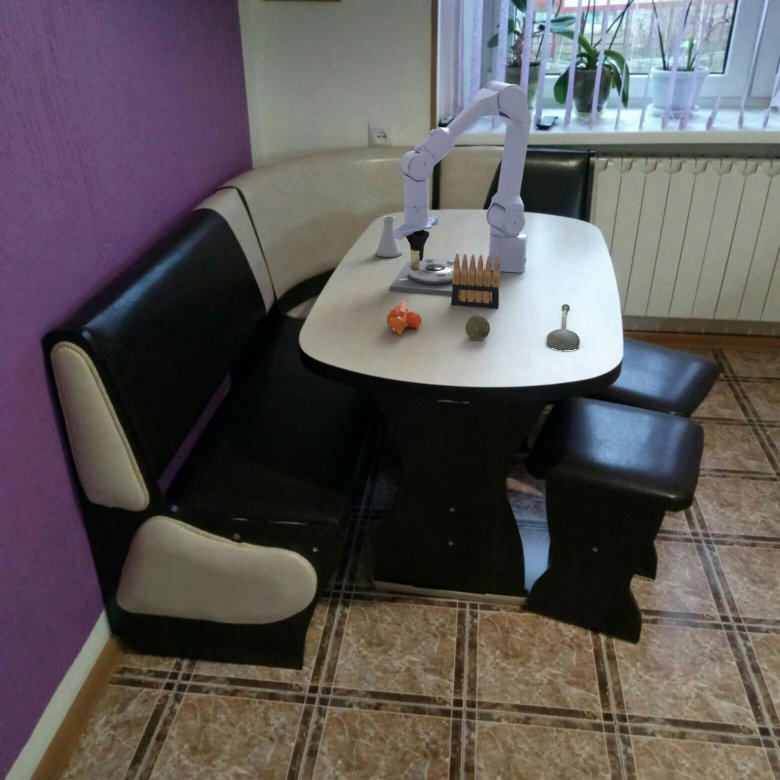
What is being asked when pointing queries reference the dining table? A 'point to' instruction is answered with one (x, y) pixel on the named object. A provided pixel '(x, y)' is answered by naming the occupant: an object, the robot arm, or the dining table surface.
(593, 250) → the dining table surface
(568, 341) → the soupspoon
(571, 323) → the dining table surface
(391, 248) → the flask
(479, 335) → the lime
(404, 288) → the cap plate
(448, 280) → the crank wheel with handle
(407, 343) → the dining table surface
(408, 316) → the orange toy bird
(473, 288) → the ammunition clip
